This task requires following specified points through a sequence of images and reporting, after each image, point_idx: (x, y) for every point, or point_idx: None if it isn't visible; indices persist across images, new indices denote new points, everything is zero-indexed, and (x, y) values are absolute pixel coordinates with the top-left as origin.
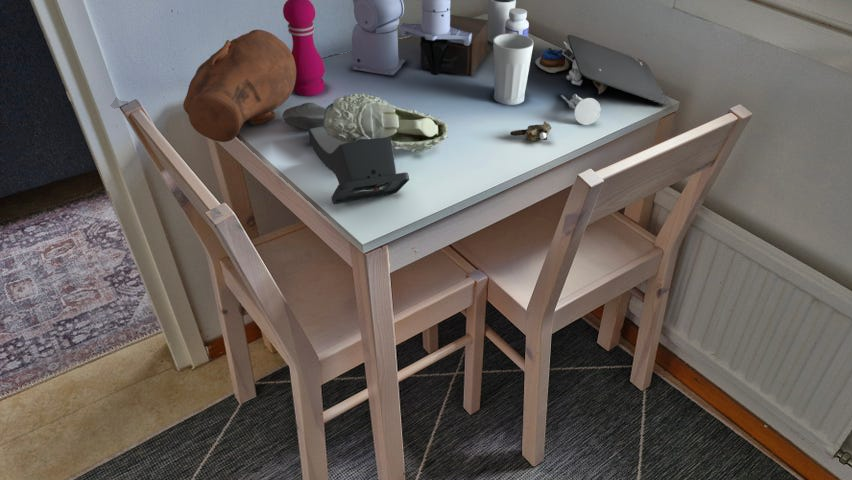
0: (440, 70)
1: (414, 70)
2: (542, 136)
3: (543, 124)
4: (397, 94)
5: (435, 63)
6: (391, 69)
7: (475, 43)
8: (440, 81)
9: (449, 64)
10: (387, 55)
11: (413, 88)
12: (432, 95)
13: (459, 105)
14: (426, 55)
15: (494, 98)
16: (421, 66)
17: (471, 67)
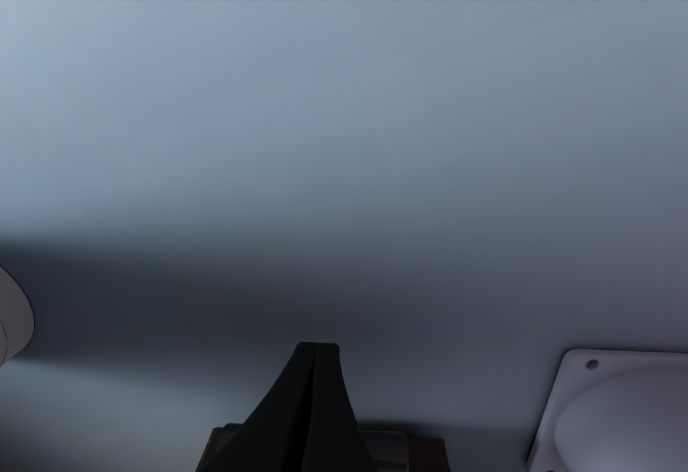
0: None
1: (468, 419)
2: None
3: None
4: (507, 167)
5: (286, 400)
6: (585, 392)
7: None
8: None
9: (232, 434)
10: (664, 461)
11: (430, 262)
12: (306, 217)
13: (119, 149)
14: (358, 455)
15: (7, 274)
16: (442, 447)
17: (198, 467)
